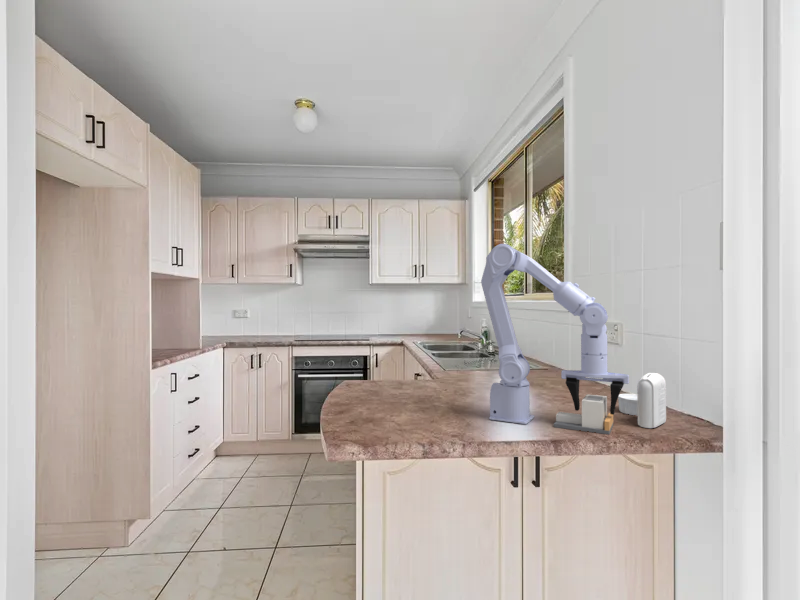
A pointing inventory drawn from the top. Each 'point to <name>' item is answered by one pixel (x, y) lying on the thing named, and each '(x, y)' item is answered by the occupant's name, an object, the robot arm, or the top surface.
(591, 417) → the block
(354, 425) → the top surface
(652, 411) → the photo printer
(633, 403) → the ramekin
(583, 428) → the rail mount
